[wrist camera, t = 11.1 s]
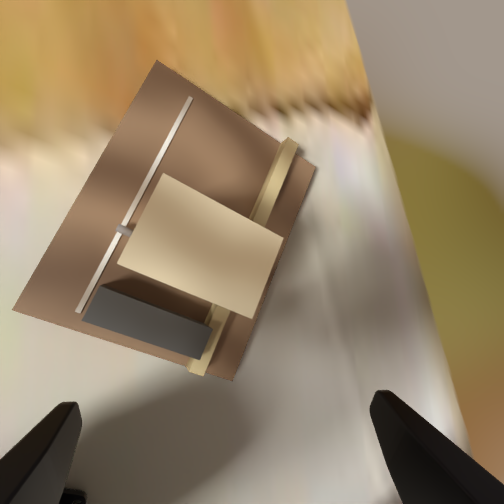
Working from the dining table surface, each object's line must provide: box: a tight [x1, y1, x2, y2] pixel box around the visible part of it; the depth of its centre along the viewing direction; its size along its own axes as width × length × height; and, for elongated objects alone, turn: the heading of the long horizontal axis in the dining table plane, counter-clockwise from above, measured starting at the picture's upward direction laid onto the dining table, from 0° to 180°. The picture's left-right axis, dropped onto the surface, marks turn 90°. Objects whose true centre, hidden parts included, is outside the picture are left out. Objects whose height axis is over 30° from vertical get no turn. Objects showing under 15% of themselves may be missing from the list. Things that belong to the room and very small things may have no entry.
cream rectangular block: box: [115, 173, 283, 319], centre depth 16 cm, size 4×7×8 cm, turn 66°
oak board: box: [12, 60, 315, 381], centre depth 20 cm, size 18×14×3 cm
